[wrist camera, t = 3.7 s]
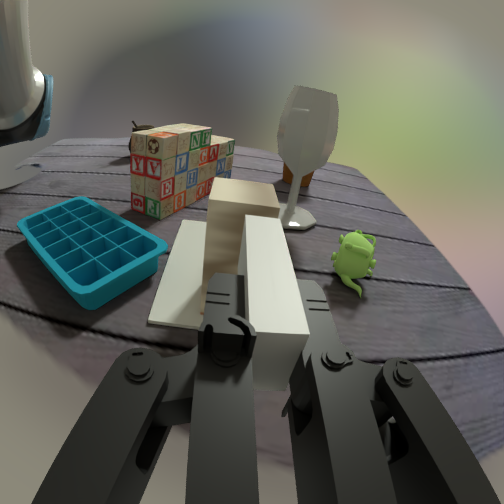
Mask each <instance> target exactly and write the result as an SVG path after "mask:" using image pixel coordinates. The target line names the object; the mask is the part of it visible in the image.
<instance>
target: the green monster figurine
mask: <svg viewBox="0 0 504 504" xmlns="http://www.w3.org/2000/svg"><path fill="white" fill-rule="evenodd" d="M358 233H360V234H358ZM366 238H369V239H372V240H373V245H371V244H370V242H369V241H368V240H367V239H366ZM339 243H341V246H340V249H339V252H338V253H335V252H334V253H333V255H332V257H331V260H335V261H334V264H333V267H335V271H336V272H337V274H338V275H339V276H340V277H341V280H342V282H343V283H344V284H345V285H347V286H348V287H351V288H353V289H355V290H356V291H357V292H358V293H359V295H360V298H361V292H362V289H361V287H360V286H358V285H357V284H355V283H353V282H352V281H351V279H356V278H362V277H365V276H366V274H369V275H370V276H372V271H371V270H369V267H371V268H372V269H374V267H375V264H376V260H372V258H373V255H374V247H375V245H376V240H375V238H374V237H373V236H372V235H363V234H362V231H361V230H356V231H355V232H352V233H349V234H347V235H346V236H345V238H344V237H343V235H342V234H341V236H340V238H339Z"/></svg>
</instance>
